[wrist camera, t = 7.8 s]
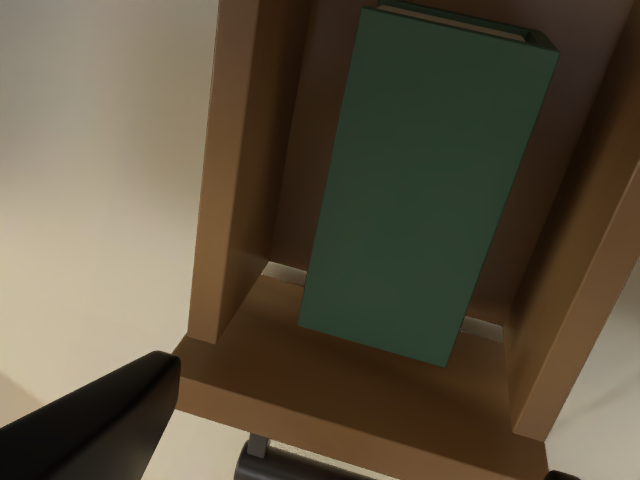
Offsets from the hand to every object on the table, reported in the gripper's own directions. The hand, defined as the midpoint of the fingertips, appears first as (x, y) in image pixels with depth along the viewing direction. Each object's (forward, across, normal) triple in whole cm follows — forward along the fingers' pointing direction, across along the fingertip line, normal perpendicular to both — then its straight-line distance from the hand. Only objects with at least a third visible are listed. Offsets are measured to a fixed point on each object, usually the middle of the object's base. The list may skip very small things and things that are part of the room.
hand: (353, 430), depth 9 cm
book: (+9, 0, -1) cm, 9 cm away
